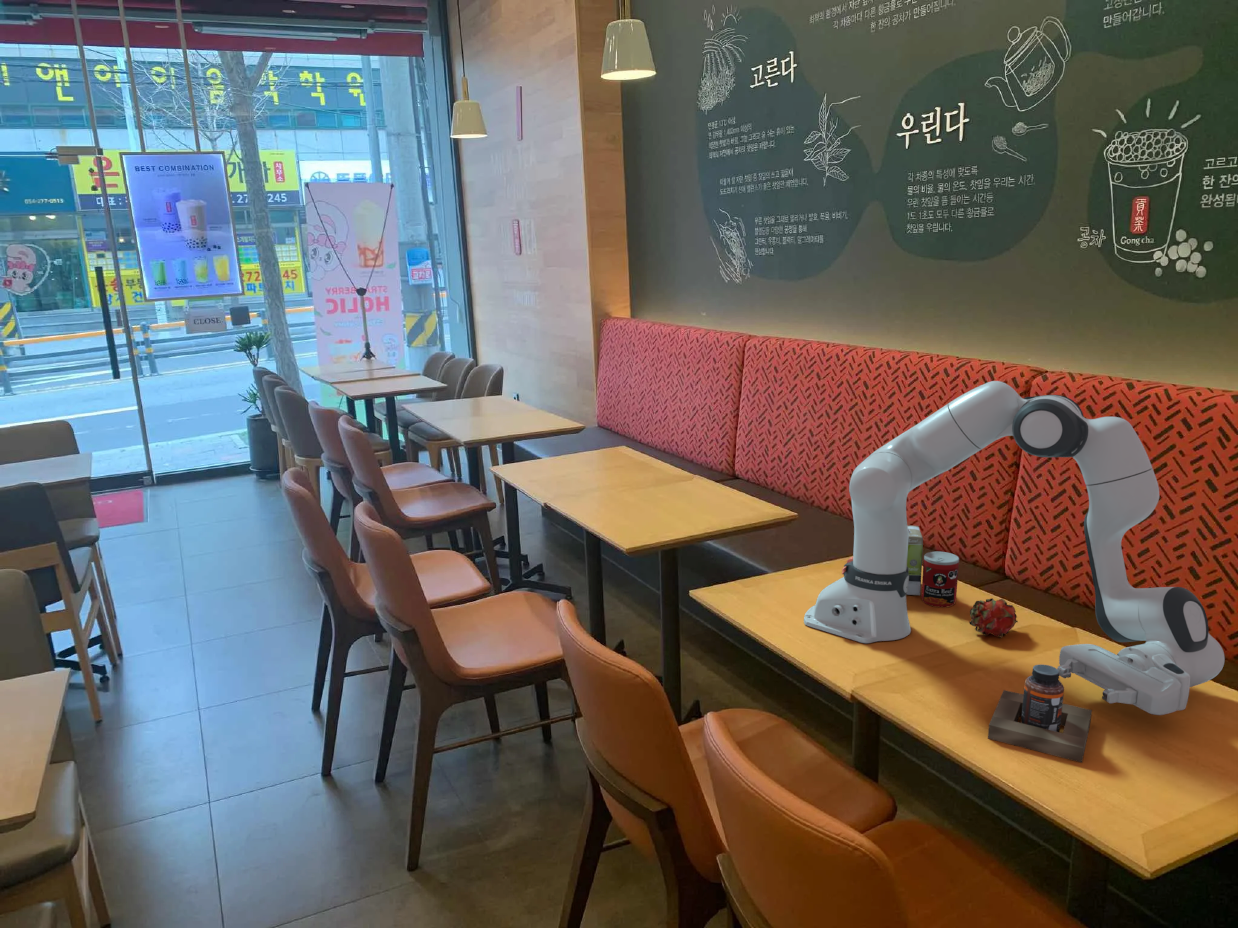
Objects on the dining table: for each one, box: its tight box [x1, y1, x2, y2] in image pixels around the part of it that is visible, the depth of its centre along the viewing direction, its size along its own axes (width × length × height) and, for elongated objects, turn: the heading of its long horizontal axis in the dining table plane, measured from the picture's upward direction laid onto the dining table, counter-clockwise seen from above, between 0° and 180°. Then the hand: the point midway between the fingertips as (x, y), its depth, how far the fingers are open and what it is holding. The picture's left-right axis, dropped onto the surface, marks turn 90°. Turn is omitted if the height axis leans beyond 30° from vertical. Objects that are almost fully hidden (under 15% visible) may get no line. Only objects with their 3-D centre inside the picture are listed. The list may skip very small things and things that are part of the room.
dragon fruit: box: [968, 597, 1019, 639], centre depth 185 cm, size 8×8×12 cm
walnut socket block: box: [987, 689, 1093, 764], centre depth 147 cm, size 14×14×2 cm
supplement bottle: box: [1020, 664, 1065, 732], centre depth 146 cm, size 6×6×11 cm
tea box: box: [906, 525, 924, 596], centre depth 211 cm, size 15×10×15 cm
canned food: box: [920, 550, 960, 608], centre depth 202 cm, size 8×8×11 cm
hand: (1082, 684), depth 149 cm, fingers open, 8 cm apart
